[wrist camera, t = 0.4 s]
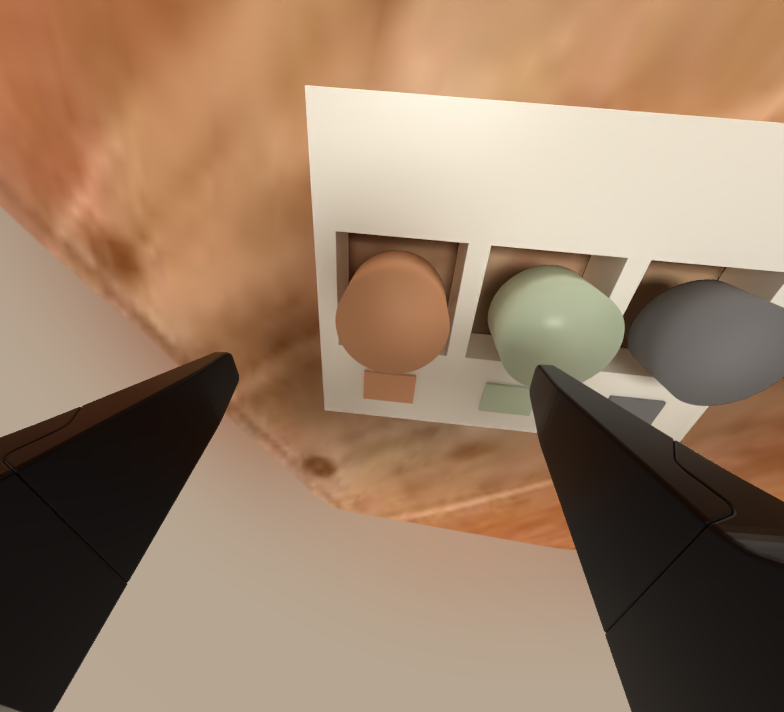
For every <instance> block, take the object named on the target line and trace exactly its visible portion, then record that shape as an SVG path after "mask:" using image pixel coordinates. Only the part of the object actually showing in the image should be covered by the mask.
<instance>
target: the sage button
mask: <svg viewBox="0 0 784 712" xmlns="http://www.w3.org/2000/svg"><path fill="white" fill-rule="evenodd" d="M488 326H489V330H490V333H491V335H492V338H493V341H494V343H495V346H496V348H497V351H498V354H499V356H500V359H501V361H502V364H503V366H504V368H505V370H506V371H507V373H508V374H509V375H510V376H511V377H512V378H513V379H515V380H516V381H517V382H519V383H521V384H523V385H525V386H528V387H530V385H531V381H532V378H533V374H534V371H535V368H536V366H537V365H540V364H543V365H554V366H555V367H557V368H559V369H560V370H562V371H564V372H565V373H567V374H569V375H570V376H572V377H573V378H575V379H577V380H578V381H580V382H584V381H586V380H588V379H590V378H591V377H593V376H595V375H596V374H597V373H599V372H600V371H601V370H603V369H604V368H605V367H606V366H607V365H608V364H609V363H610V362H611V361H612V359H613V358H614V357H615V355H616V354H617V352H618V350H619V348H620V346H621V344H622V341H623V338H624V331H625V325H624V319H623V316H622V313H621V311H620V309H619V308H618V307H617V305H616V304H615V303H614V302H613V301H612V300H611V299H609V298H608V297H607V296H606V295H604V294H603V293H602V292H600V291H599V290H598V289H597V288H595V287H594V286H593V285H591V284H590V283H589V282H588V281H586V280H585V279H584V278H583V277H581V276H580V275H579V274H577V273H576V272H574V271H573V270H571V269H569V268H566V267H562V266H557V265H542V266H536V267H532V268H529V269H526V270H524V271H522V272H520V273H518V274H516V275H515V276H513V277H512V278H510V279H509V280H508V281H507V282H505V283H504V284H503V285H502V286H501V288H500V289H499V290H498V291H497V293H496V294H495V296H494V297H493V300H492V302H491V304H490V307H489V311H488Z"/></svg>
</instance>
